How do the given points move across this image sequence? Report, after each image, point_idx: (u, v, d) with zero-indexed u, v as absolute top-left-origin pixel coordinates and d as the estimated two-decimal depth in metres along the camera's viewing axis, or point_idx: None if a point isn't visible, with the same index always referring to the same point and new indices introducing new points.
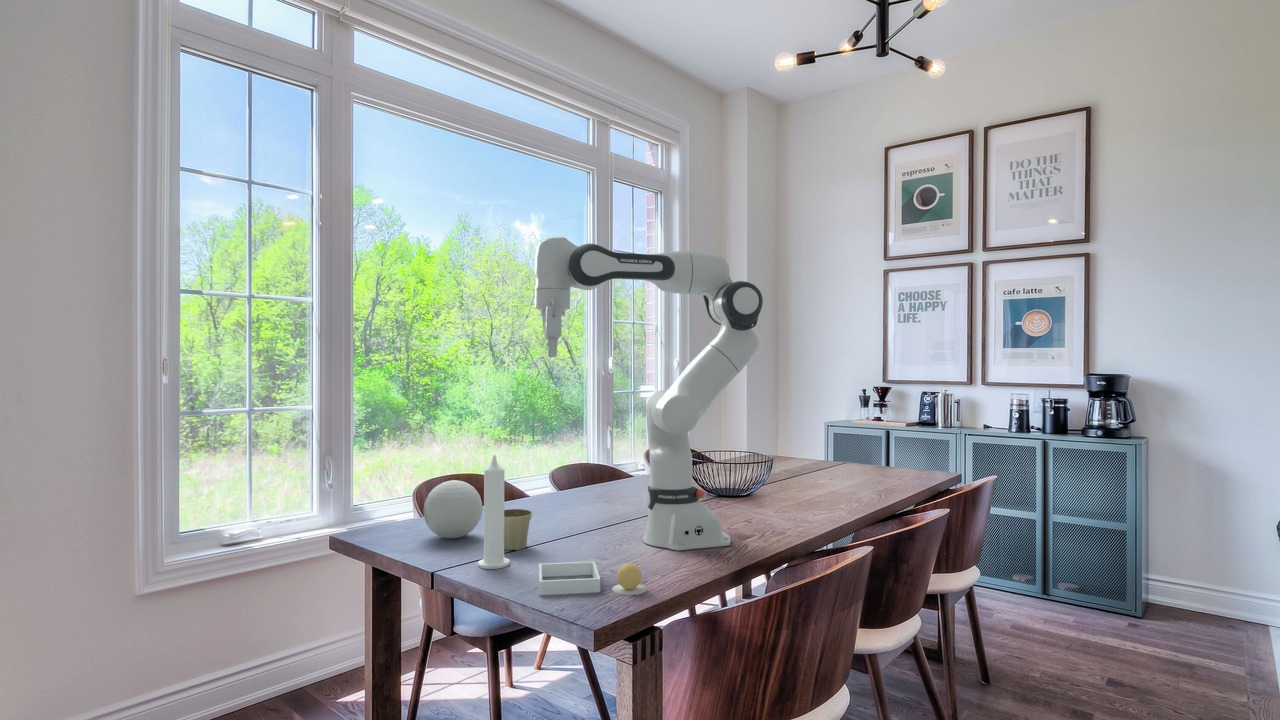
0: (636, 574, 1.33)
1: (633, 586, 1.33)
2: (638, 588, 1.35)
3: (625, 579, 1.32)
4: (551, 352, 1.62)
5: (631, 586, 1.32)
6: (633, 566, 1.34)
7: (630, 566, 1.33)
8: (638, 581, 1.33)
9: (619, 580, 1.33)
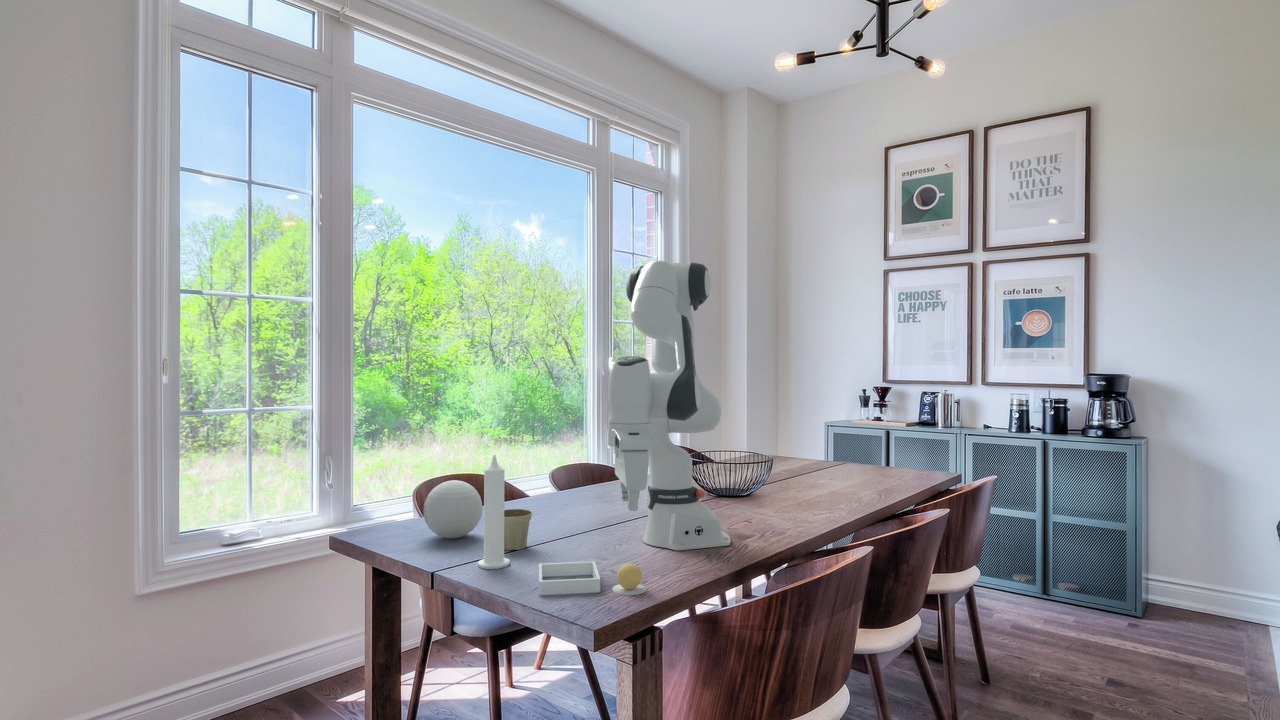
0: (636, 574, 1.33)
1: (633, 586, 1.33)
2: (638, 588, 1.35)
3: (625, 579, 1.32)
4: None
5: (631, 586, 1.32)
6: (633, 566, 1.34)
7: (630, 566, 1.33)
8: (638, 581, 1.33)
9: (619, 580, 1.33)
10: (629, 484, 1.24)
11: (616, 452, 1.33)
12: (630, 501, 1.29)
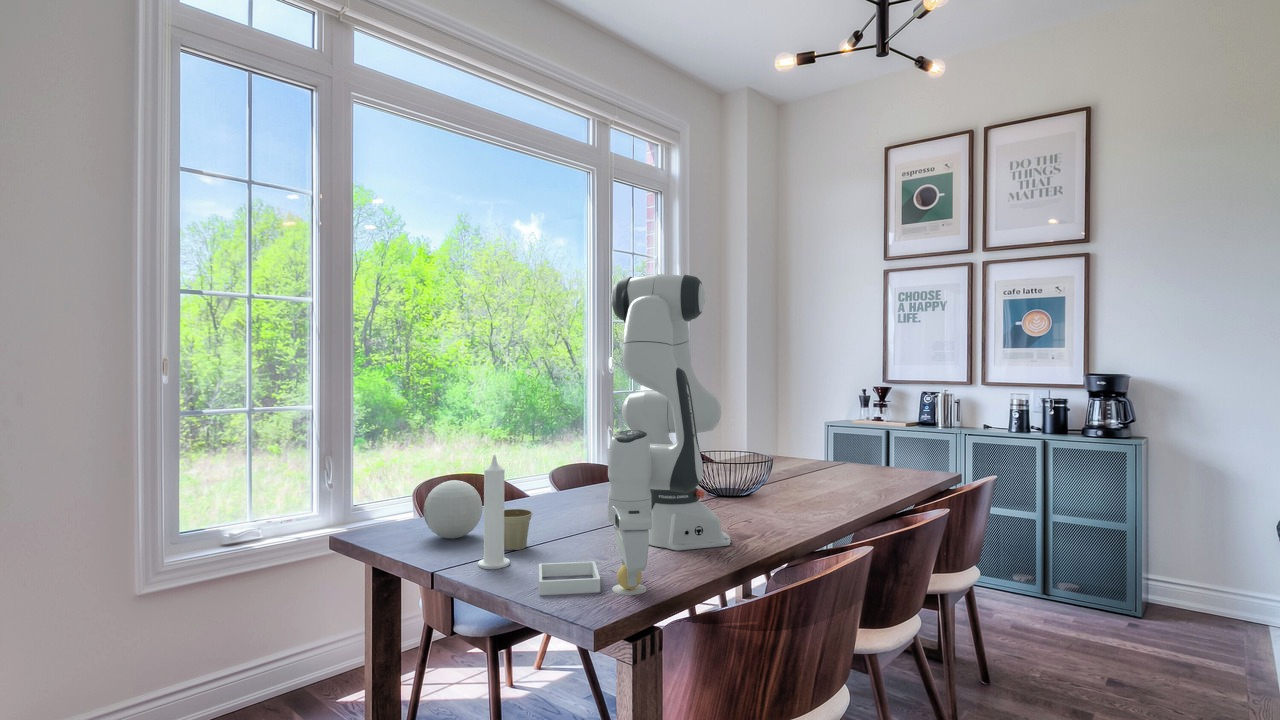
0: None
1: (633, 586, 1.33)
2: (638, 588, 1.35)
3: (625, 579, 1.32)
4: None
5: None
6: None
7: None
8: (638, 581, 1.33)
9: (619, 580, 1.33)
10: (630, 565, 1.24)
11: (616, 528, 1.33)
12: (629, 577, 1.30)
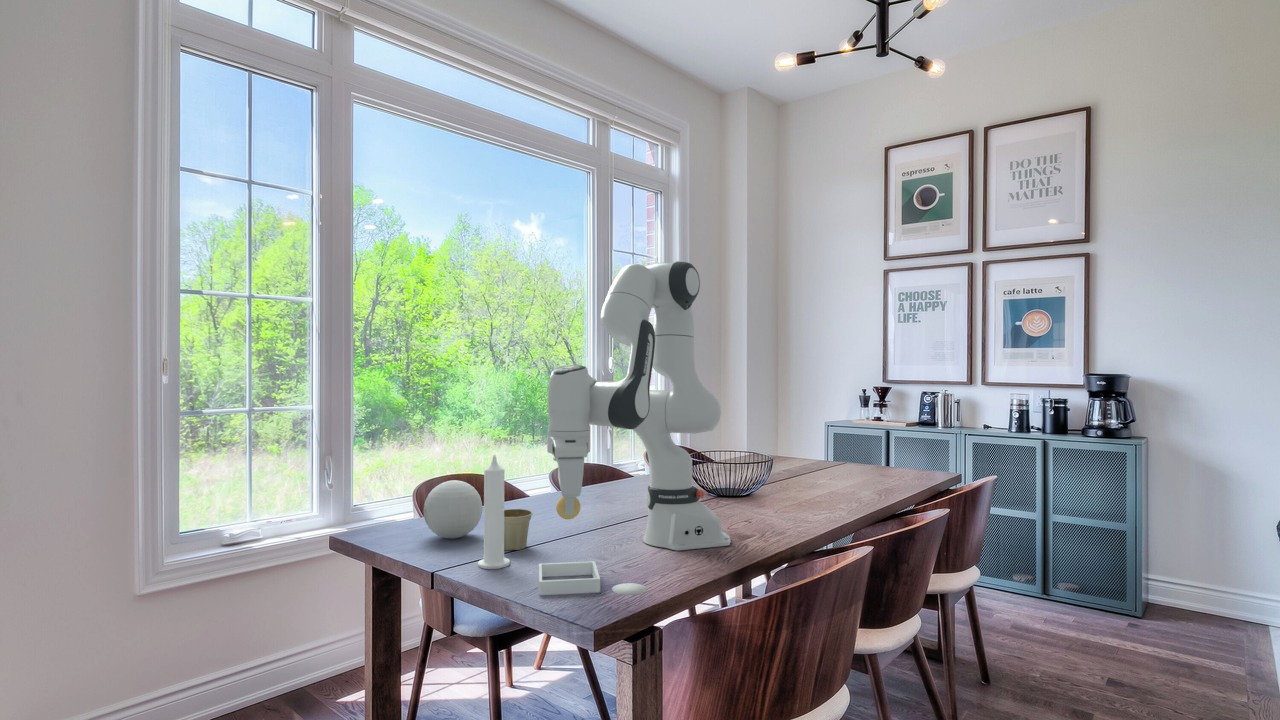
0: (574, 504, 1.36)
1: (571, 515, 1.36)
2: (638, 588, 1.35)
3: (563, 508, 1.35)
4: None
5: (569, 515, 1.35)
6: None
7: None
8: (576, 511, 1.36)
9: (558, 510, 1.36)
10: (564, 490, 1.27)
11: (555, 459, 1.36)
12: (566, 505, 1.33)
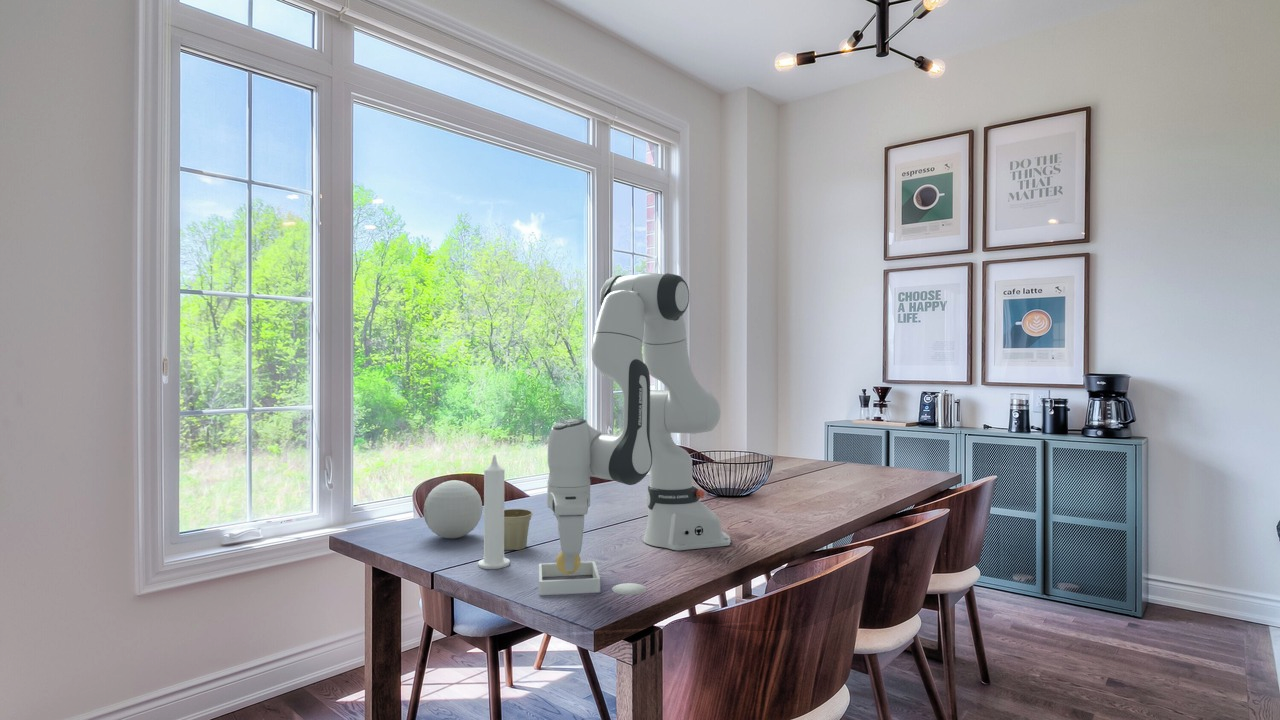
0: None
1: (571, 571, 1.35)
2: (638, 588, 1.35)
3: (563, 564, 1.35)
4: None
5: (569, 571, 1.35)
6: None
7: None
8: (576, 566, 1.36)
9: (558, 565, 1.36)
10: (564, 549, 1.27)
11: (555, 514, 1.36)
12: (566, 561, 1.33)
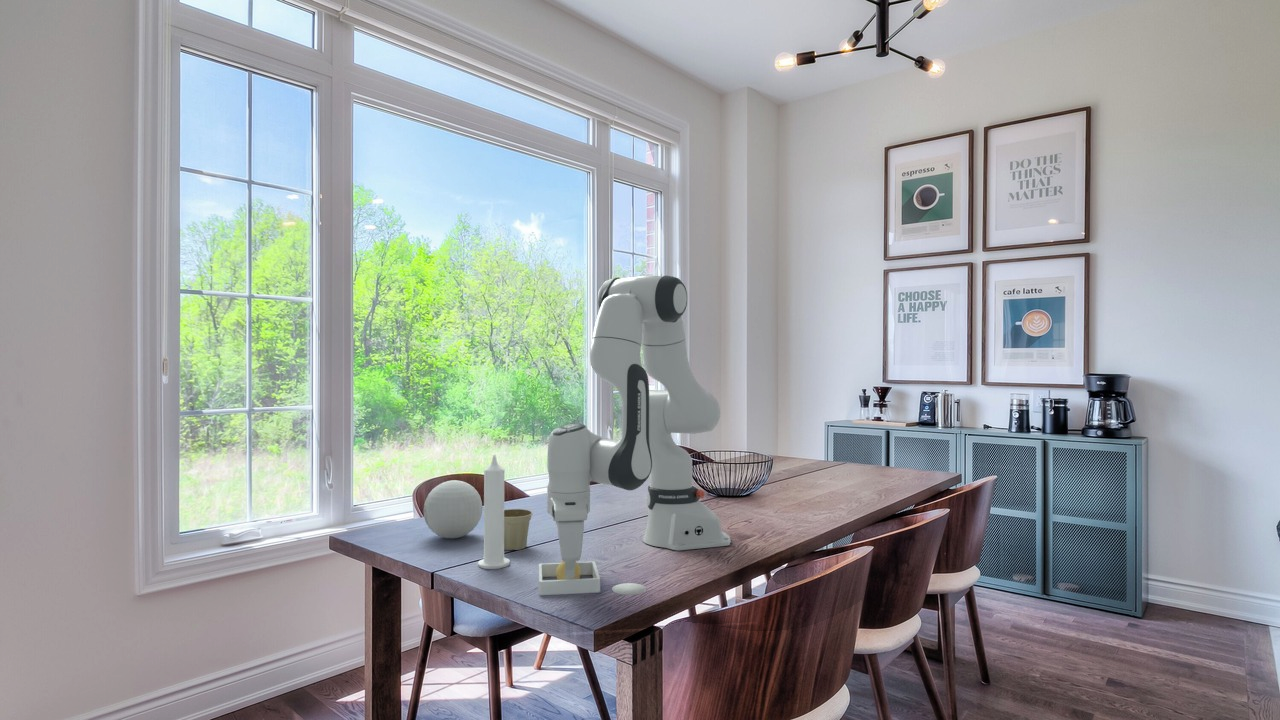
0: None
1: None
2: (638, 588, 1.35)
3: (563, 575, 1.35)
4: None
5: None
6: None
7: None
8: (576, 577, 1.36)
9: (558, 576, 1.36)
10: (564, 555, 1.27)
11: (555, 519, 1.36)
12: (567, 569, 1.32)
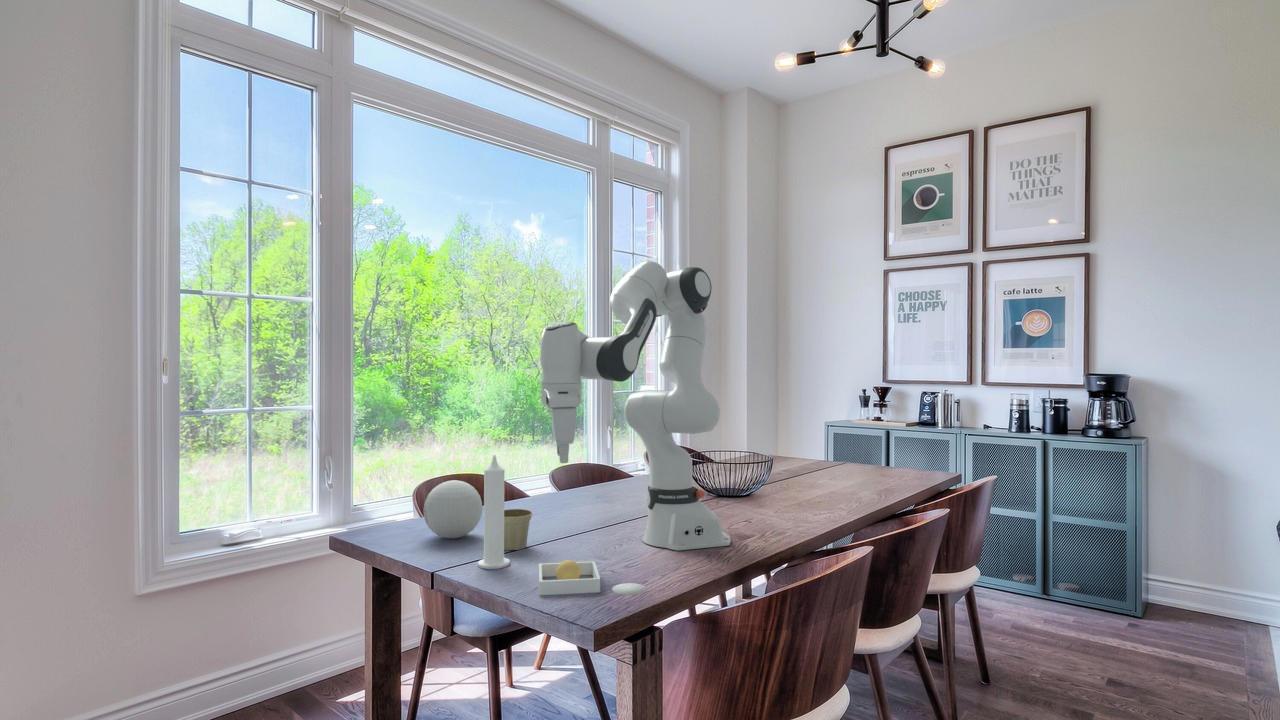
0: (574, 571, 1.36)
1: None
2: (638, 588, 1.35)
3: (563, 576, 1.35)
4: None
5: None
6: (571, 563, 1.37)
7: (569, 563, 1.36)
8: (576, 577, 1.36)
9: (558, 576, 1.36)
10: (558, 438, 1.36)
11: (549, 410, 1.44)
12: (561, 454, 1.41)
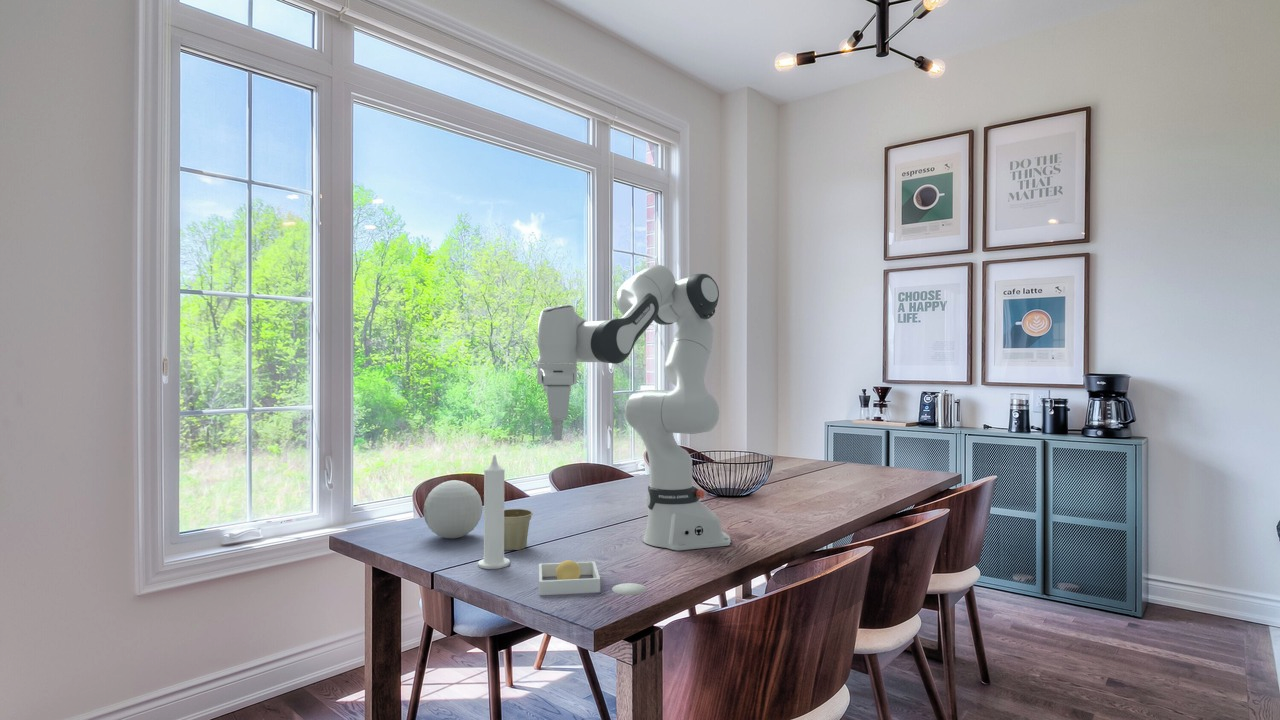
0: (574, 571, 1.35)
1: None
2: (638, 588, 1.35)
3: (563, 576, 1.35)
4: None
5: None
6: (571, 563, 1.36)
7: (569, 563, 1.36)
8: (576, 578, 1.36)
9: (558, 577, 1.36)
10: (552, 414, 1.40)
11: (544, 389, 1.49)
12: (555, 431, 1.45)
